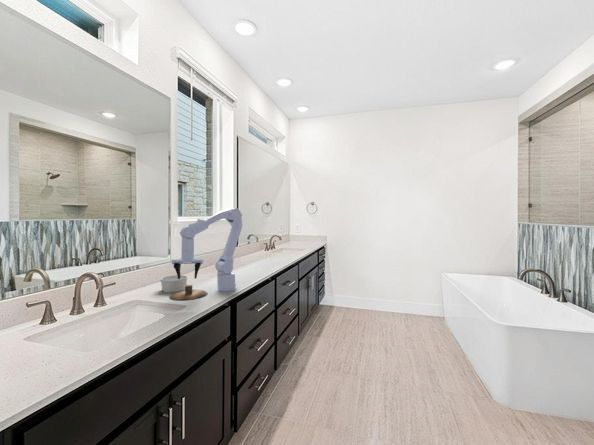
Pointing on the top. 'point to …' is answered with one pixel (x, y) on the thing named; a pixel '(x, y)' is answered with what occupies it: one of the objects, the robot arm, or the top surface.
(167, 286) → the ramekin
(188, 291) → the lid
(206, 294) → the mat
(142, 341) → the top surface
